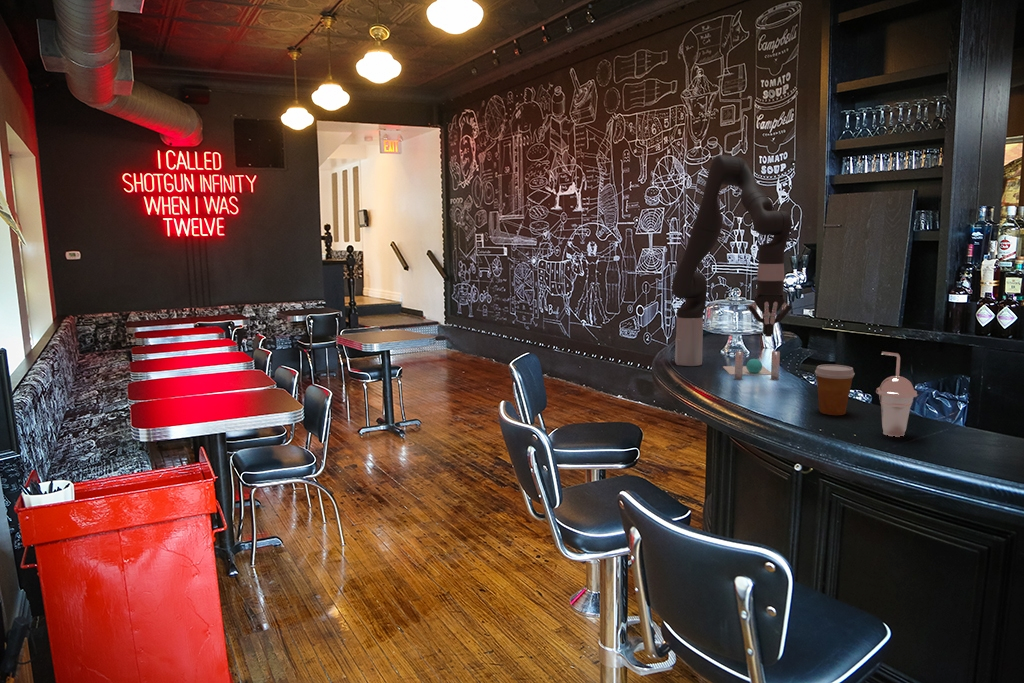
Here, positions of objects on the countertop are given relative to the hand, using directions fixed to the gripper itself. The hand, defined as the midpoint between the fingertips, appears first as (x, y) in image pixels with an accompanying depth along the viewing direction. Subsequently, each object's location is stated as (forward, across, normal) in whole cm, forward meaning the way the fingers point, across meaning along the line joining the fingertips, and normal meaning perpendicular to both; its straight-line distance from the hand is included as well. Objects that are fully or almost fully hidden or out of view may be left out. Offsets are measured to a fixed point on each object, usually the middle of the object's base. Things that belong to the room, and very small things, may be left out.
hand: (767, 336), depth 212 cm
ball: (+14, -1, -22) cm, 26 cm away
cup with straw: (+16, -17, +49) cm, 54 cm away
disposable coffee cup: (+16, -10, +29) cm, 35 cm away
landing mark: (+16, 0, -27) cm, 31 cm away
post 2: (+16, -6, -13) cm, 21 cm away
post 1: (+16, +6, -13) cm, 21 cm away
